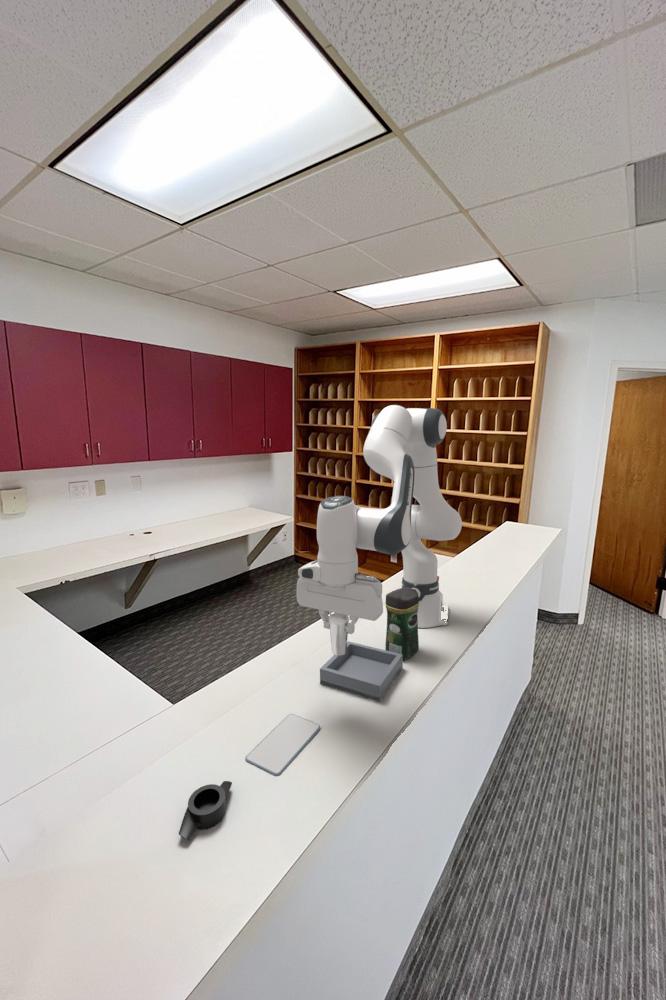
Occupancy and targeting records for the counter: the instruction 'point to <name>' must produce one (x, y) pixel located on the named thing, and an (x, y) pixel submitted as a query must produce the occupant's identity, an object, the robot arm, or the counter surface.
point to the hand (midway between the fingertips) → (339, 630)
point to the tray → (362, 671)
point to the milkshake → (338, 633)
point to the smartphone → (283, 744)
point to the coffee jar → (402, 622)
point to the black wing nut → (205, 808)
